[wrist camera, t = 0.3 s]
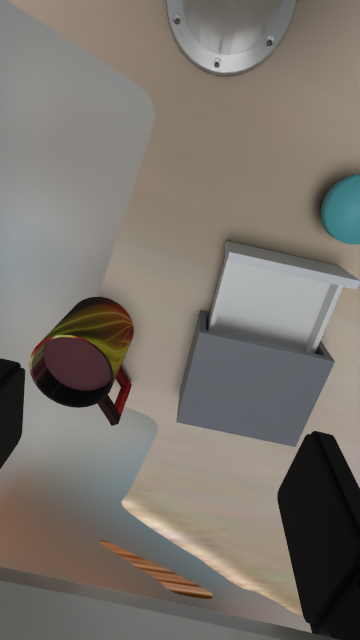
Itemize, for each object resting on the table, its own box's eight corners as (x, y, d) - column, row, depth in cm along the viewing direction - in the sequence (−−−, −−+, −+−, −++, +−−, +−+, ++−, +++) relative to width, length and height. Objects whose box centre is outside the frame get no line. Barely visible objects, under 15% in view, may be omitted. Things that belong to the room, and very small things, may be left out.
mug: (130, 384, 53) (110, 439, 42) (55, 330, 50) (14, 375, 39) (169, 343, 50) (159, 392, 39) (92, 283, 47) (58, 317, 36)
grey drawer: (226, 240, 43) (229, 252, 37) (339, 266, 43) (360, 281, 37) (201, 333, 48) (201, 356, 42) (302, 355, 49) (316, 381, 43)
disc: (335, 167, 36) (342, 167, 34) (398, 182, 36) (409, 182, 34) (311, 233, 39) (316, 236, 37) (370, 246, 39) (378, 250, 37)
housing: (200, 310, 47) (199, 332, 41) (317, 335, 48) (334, 361, 41) (179, 391, 53) (176, 421, 46) (284, 413, 53) (295, 446, 47)
